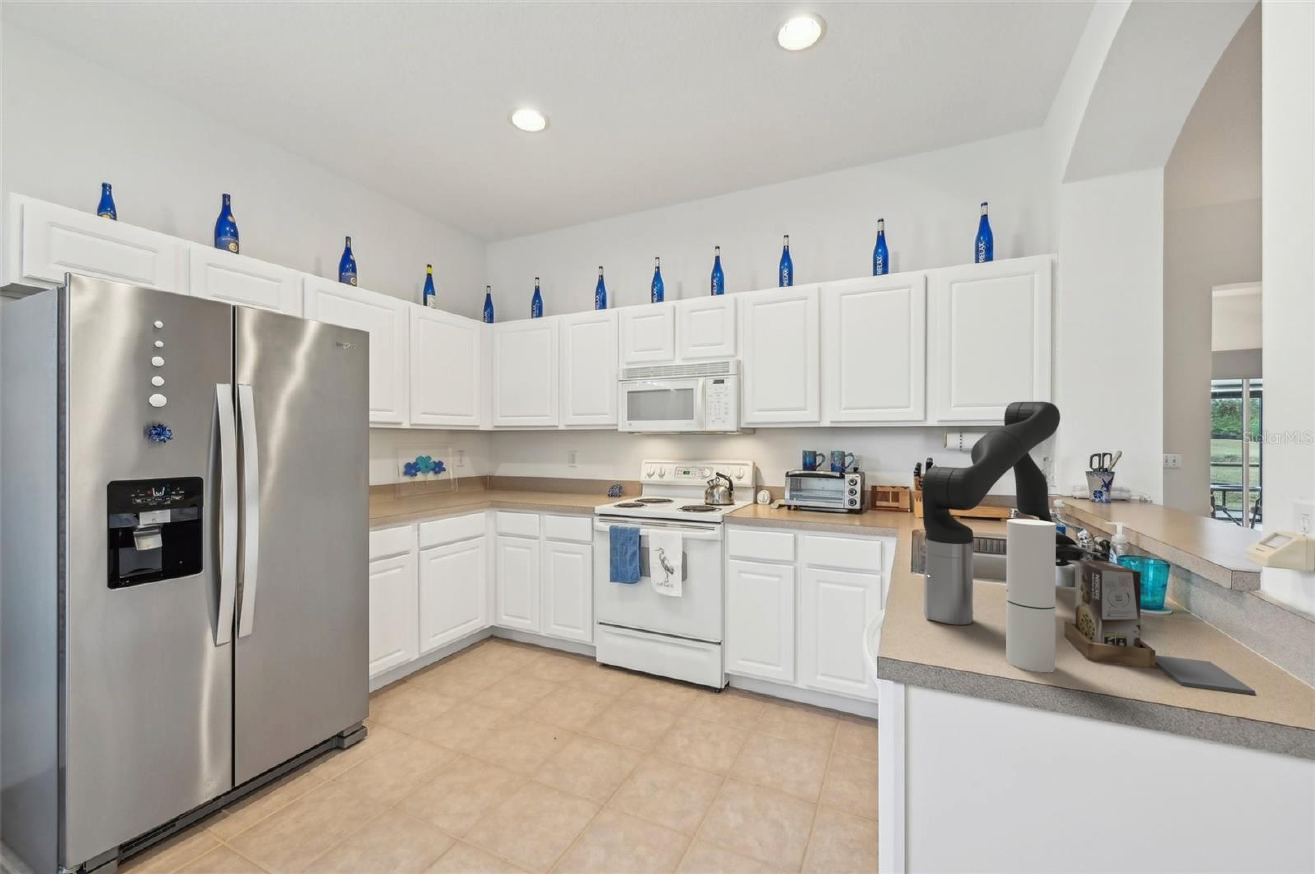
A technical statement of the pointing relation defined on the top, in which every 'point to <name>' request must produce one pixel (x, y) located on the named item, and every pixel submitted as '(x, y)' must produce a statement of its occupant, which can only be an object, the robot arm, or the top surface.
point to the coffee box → (1108, 602)
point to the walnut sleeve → (1110, 650)
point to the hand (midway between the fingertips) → (1078, 561)
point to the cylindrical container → (1031, 594)
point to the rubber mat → (1200, 674)
